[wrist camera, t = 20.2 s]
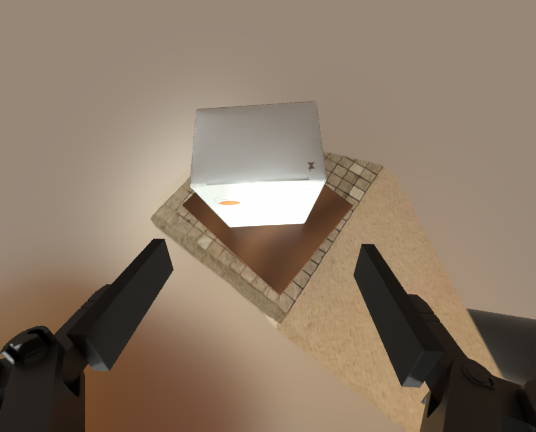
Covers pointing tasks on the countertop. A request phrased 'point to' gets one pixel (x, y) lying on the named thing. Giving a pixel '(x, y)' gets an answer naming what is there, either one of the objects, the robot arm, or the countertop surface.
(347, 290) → the countertop surface
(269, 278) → the chest
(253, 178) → the small box
